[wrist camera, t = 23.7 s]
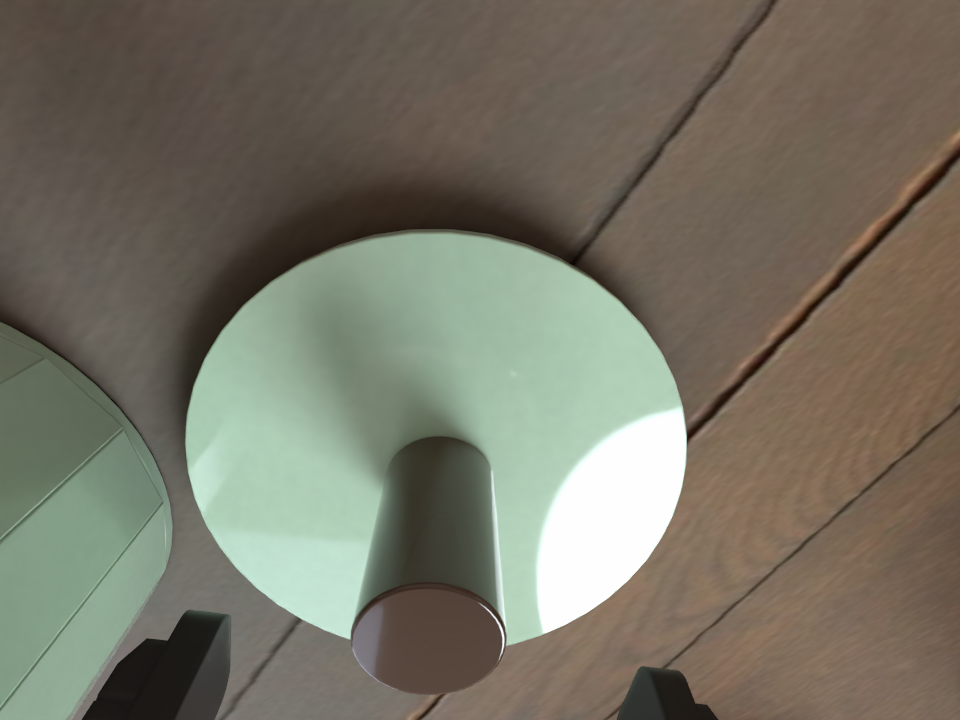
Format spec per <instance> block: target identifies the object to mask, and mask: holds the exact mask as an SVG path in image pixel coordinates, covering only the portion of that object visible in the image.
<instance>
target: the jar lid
mask: <svg viewBox="0 0 960 720" xmlns="http://www.w3.org/2000/svg"><path fill="white" fill-rule="evenodd" d="M185 449H186V459H187V469H188V474H189V478H190V482H191V486H192V490H193V494H194V497H195V500H196V503H197V505H198V507H199V510H200V512H201V514H202V517H203V519H204V521H205V524H206V525H207V527H208V529H209V530H210V532H211V534H212V535H213V537H214V539H215V540H216V542H217V544H218V545H219V547H220V548H221V550H222V551H223V552H224V553H225V555H226V556H227V557H228V558H229V560H230V561H231V562H232V563H233V565H234V566H235V567H236V568H237V569H238V570H239V571H240V572H241V573H242V574H243V575H244V576H245V577H246V578H247V579H248V580H249V581H250V582H251V583H252V584H253V585H254V586H255V587H256V588H257V589H258V590H260V591H261V592H262V593H264V594H265V595H266V596H267V597H269V598H270V599H271V600H273V601H274V602H275V603H276V604H278V605H279V606H281V607H283V608H284V609H286V610H288V611H289V612H291V613H292V614H294V615H296V616H297V617H299V618H301V619H302V620H304V621H307V622H309V623H311V624H313V625H315V626H317V627H319V628H321V629H323V630H325V631H328V632H331V633H333V634H336V635H339V636H342V637H344V638H347V639H350V640H351V646H352V650H353V653H354V656H355V658H356V660H357V662H358V663H359V665H360V666H361V667H362V669H363V670H364V671H365V672H366V673H367V674H368V675H370V676H371V677H372V678H373V679H375V680H376V681H378V682H380V683H381V684H383V685H385V686H387V687H390V688H392V689H395V690H398V691H402V692H406V693H411V694H418V695H439V694H447V693H452V692H456V691H460V690H463V689H465V688H468V687H470V686H473V685H474V684H476V683H478V682H480V681H481V680H483V679H484V678H485V677H487V676H488V675H489V674H490V673H491V672H492V671H493V670H494V669H495V668H496V667H497V665H498V664H499V662H500V660H501V658H502V656H503V653H504V651H505V647H506V645H511V644H515V643H518V642H522V641H525V640H528V639H531V638H534V637H537V636H540V635H543V634H545V633H547V632H550V631H552V630H555V629H557V628H559V627H562V626H564V625H566V624H568V623H569V622H571V621H573V620H575V619H577V618H578V617H580V616H582V615H584V614H586V613H588V612H589V611H590V610H592V609H593V608H595V607H596V606H598V605H599V604H600V603H602V602H603V601H605V600H606V599H607V598H609V597H610V596H611V595H612V594H614V593H615V592H616V591H617V590H618V589H619V588H620V587H621V586H623V585H624V584H625V583H626V582H627V581H628V580H629V579H630V578H631V577H632V576H633V575H634V574H635V572H636V571H637V570H638V569H639V568H640V567H641V566H642V565H643V563H644V562H645V561H646V560H647V559H648V557H649V556H650V554H651V553H652V551H653V550H654V548H655V547H656V545H657V544H658V543H659V541H660V540H661V538H662V536H663V534H664V532H665V530H666V528H667V526H668V524H669V522H670V520H671V518H672V516H673V514H674V511H675V508H676V505H677V502H678V499H679V496H680V493H681V490H682V484H683V479H684V473H685V467H686V452H687V432H686V425H685V418H684V410H683V405H682V402H681V399H680V395H679V392H678V389H677V385H676V382H675V379H674V377H673V375H672V373H671V371H670V369H669V366H668V364H667V362H666V360H665V358H664V356H663V354H662V352H661V350H660V349H659V348H658V346H657V345H656V343H655V342H654V340H653V339H652V337H651V336H650V335H649V333H648V332H647V330H646V329H645V327H644V326H643V325H642V323H641V322H640V321H639V320H638V319H637V318H636V317H635V316H634V315H633V314H632V313H631V311H630V310H629V309H628V308H627V307H626V306H625V305H624V304H623V303H622V302H621V301H620V300H619V299H618V298H617V297H616V296H615V295H614V294H613V293H611V292H610V291H609V290H608V289H606V288H605V287H604V286H602V285H601V284H600V283H599V282H597V281H596V280H595V279H594V278H592V277H591V276H590V275H588V274H586V273H585V272H583V271H581V270H580V269H578V268H576V267H574V266H573V265H571V264H569V263H568V262H566V261H564V260H562V259H561V258H559V257H557V256H554V255H552V254H549V253H547V252H545V251H542V250H540V249H537V248H535V247H532V246H530V245H528V244H525V243H521V242H518V241H514V240H510V239H506V238H502V237H499V236H495V235H491V234H486V233H478V232H470V231H462V230H454V229H411V230H404V231H397V232H390V233H383V234H376V235H371V236H368V237H364V238H361V239H357V240H354V241H350V242H347V243H343V244H340V245H337V246H334V247H332V248H330V249H328V250H325V251H323V252H321V253H319V254H316V255H314V256H312V257H309V258H307V259H305V260H303V261H302V262H300V263H298V264H297V265H295V266H294V267H292V268H290V269H289V270H287V271H286V272H284V273H282V274H281V275H279V276H277V277H276V278H274V279H273V280H272V281H271V282H270V283H268V284H267V285H266V286H265V287H264V288H263V289H261V290H260V291H259V292H258V293H257V294H256V295H254V296H253V297H252V298H251V299H250V300H248V301H247V302H246V303H245V304H244V305H243V306H242V307H241V308H240V309H239V311H238V312H237V313H236V314H235V315H234V316H233V317H232V319H231V320H230V321H229V322H228V323H227V324H226V326H225V327H224V328H223V329H222V330H221V332H220V334H219V335H218V337H217V338H216V340H215V342H214V343H213V345H212V347H211V348H210V350H209V351H208V353H207V355H206V356H205V358H204V361H203V363H202V366H201V368H200V370H199V373H198V375H197V378H196V380H195V383H194V385H193V389H192V394H191V398H190V402H189V407H188V411H187V419H186V436H185Z"/></svg>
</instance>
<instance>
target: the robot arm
mask: <svg viewBox="0 0 960 720" xmlns="http://www.w3.org/2000/svg"><path fill="white" fill-rule="evenodd" d="M230 644H231V617H230V615H228V614H220V613H212V612H204V611H195V610H188V611H186V612H185V613H184V614H183V616H182V617H181V619H180V620H179V622H178V624H177V625H176V627H175V629H174V631H173V632H172V634H171V636H170V638H169V639H168V641H165V640H156V639H148V638H147V639H146V640H145V641H143V642H142V643H141V644H140V645H139V646H138V647H136V648H135V649H134V650H133V651H132V652H131V653H130V654H128V655H127V656H126V657H125V658H124V659H123V660H121V661H120V662H119V663H118V664H117V666H116V667H115V669H114V670H113V672H112V673H111V675H110V677H109V678H108V680H107V681H106V683H105V684H104V686H103V687H102V689H101V691H100V692H99V694H98V697H97V699H96V701H93V703H92V705H91V706H90V708H89V709H88V711H87V712H86V714H85V715H84V717H83V719H82V720H215V717H216V715H217V712H218V710H219V708H220V705H221V703H222V700H223V697H224V694H225V690H226V687H227V683H228V678H229V672H230ZM617 720H718V719H717V717H716V716H715V715H714V713H713V712H712V711H711V709H710V708H709V707H708V705H703V704H695V701H694V699H693V696H692V694H691V691H690V689H689V686H688V683H687V681H686V679H685V677H684V675H683V674H682V673H681V672H680V671H677V670H669V669H661V668H653V667H644V666H643V667H640V668H639V669H638V671H637V673H636V675H635V678H634V680H633V682H632V684H631V687H630V689H629V691H628V693H627V696H626V698H625V700H624V702H623V705H622V707H621V709H620V711H619V714H618V718H617Z"/></svg>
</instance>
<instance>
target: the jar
mask: <svg viewBox="0 0 960 720" xmlns="http://www.w3.org/2000/svg"><path fill="white" fill-rule="evenodd" d="M172 527H173V524H172V515H171V507H170V501H169V498H168V494H167V491H166V487H165V483H164V480H163V478H162V475H161V473H160V471H159V469H158V467H157V464H156V462H155V460H154V458H153V456H152V454H151V452H150V451H149V449H148V447H147V446H146V444H145V443H144V441H143V439H142V438H141V436H140V434H139V433H138V431H137V430H136V429H135V428H134V426H133V425H132V424H131V423H130V421H129V420H128V419H127V417H126V416H125V415H124V414H123V412H122V411H121V410H120V409H119V408H118V407H117V406H116V405H115V403H114V402H113V401H112V400H111V399H110V398H109V397H108V396H107V395H106V394H105V393H104V392H103V391H102V390H101V389H100V388H99V387H98V386H97V385H96V384H94V383H93V382H92V381H91V380H90V379H88V378H87V377H86V376H85V375H84V374H82V373H81V372H80V371H79V370H78V369H76V368H75V367H74V366H73V365H72V364H70V363H69V362H68V361H66V360H65V359H63V358H62V357H60V356H59V355H57V354H56V353H54V352H53V351H51V350H50V349H48V348H47V347H46V346H44V345H43V344H41V343H39V342H38V341H36V340H34V339H32V338H30V337H28V336H27V335H25V334H23V333H21V332H19V331H18V330H16V329H14V328H12V327H10V326H9V325H6V324H4V323H2V322H0V720H72V718H73V717H74V715H75V714H76V712H77V711H78V709H79V707H80V706H81V704H82V703H83V701H84V700H85V698H86V697H87V695H88V694H89V692H90V691H91V689H92V688H93V686H94V684H95V683H96V681H97V680H98V678H99V677H100V675H101V674H102V672H103V671H104V669H105V668H106V666H107V665H108V663H109V661H110V660H111V658H112V657H113V655H114V654H115V652H116V651H117V649H118V648H119V646H120V645H121V643H122V642H123V640H124V638H125V637H126V635H127V634H128V632H129V631H130V629H131V628H132V626H133V625H134V623H135V622H136V620H137V619H138V617H139V615H140V613H141V612H142V610H143V608H144V606H145V605H146V603H147V601H148V599H149V598H150V596H151V594H152V593H153V591H154V590H155V588H156V587H157V585H158V584H159V582H160V579H161V577H162V575H163V573H164V571H165V568H166V566H167V563H168V559H169V554H170V550H171V546H172Z"/></svg>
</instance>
